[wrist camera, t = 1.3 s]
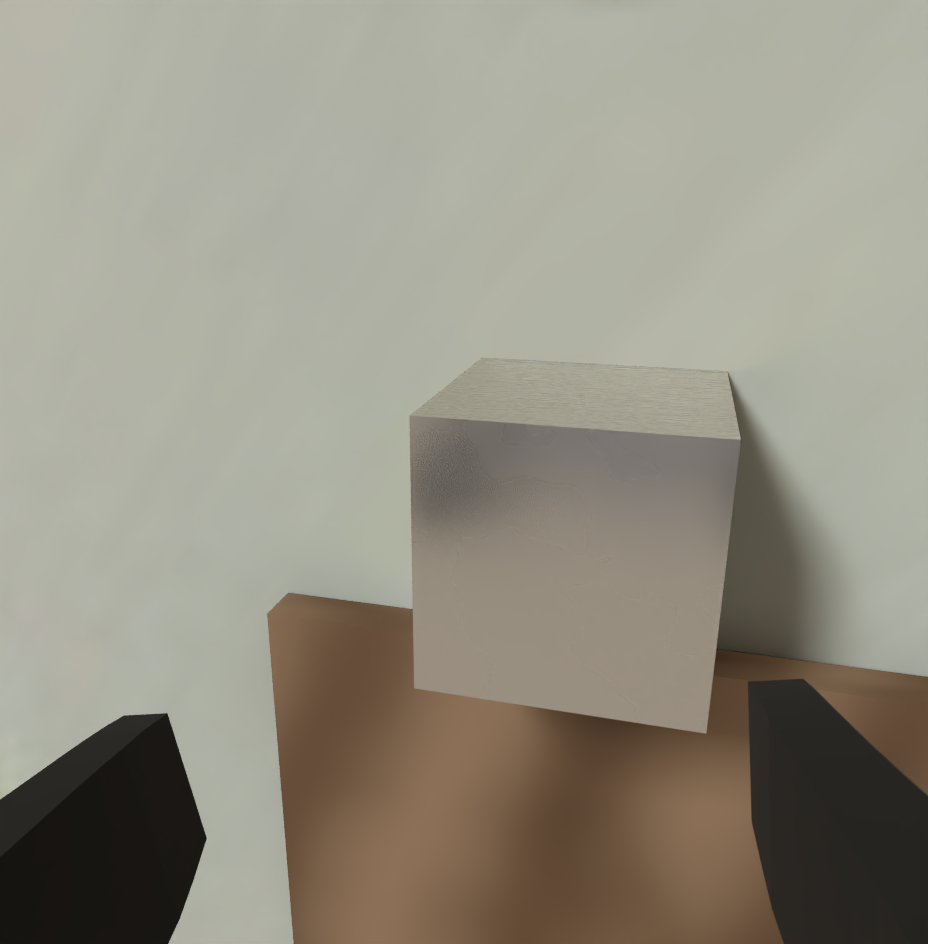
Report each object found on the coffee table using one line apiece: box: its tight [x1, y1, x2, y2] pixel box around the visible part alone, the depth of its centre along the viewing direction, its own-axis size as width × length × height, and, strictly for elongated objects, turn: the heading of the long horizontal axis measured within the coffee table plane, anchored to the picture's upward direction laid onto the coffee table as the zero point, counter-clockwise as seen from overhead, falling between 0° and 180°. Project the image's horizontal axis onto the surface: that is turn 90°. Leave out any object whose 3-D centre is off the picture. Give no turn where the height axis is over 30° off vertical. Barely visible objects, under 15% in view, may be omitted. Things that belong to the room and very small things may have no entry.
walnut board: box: [267, 593, 928, 944], centre depth 20 cm, size 16×14×5 cm
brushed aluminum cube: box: [410, 358, 741, 734], centre depth 17 cm, size 5×5×5 cm
